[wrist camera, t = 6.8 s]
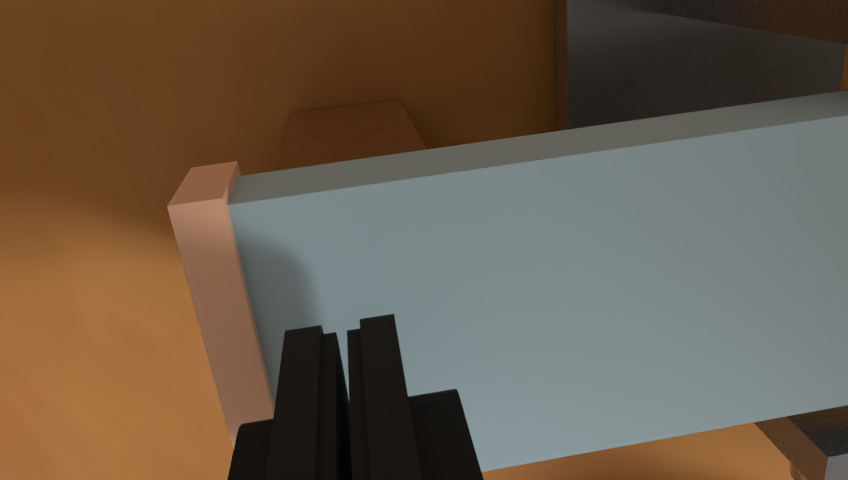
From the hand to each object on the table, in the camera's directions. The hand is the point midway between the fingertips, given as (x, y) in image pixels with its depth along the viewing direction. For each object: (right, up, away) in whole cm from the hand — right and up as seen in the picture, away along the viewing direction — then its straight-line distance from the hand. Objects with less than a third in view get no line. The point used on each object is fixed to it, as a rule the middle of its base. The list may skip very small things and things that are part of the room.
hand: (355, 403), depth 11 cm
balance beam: (+10, +2, +3) cm, 11 cm away
